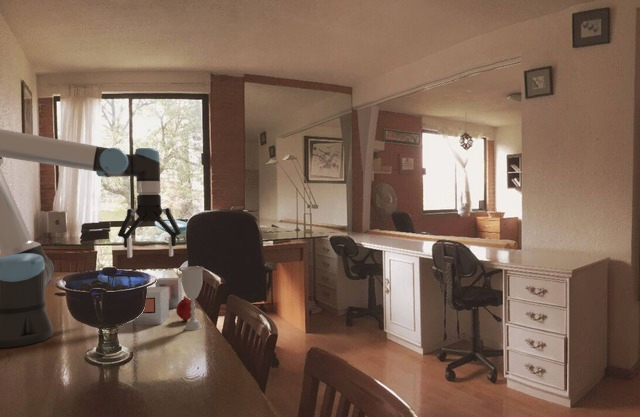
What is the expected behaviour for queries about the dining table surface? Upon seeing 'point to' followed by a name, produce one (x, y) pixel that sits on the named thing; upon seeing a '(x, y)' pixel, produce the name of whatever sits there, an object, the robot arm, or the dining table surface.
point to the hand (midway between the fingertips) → (150, 256)
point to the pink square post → (152, 303)
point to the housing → (160, 307)
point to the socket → (172, 289)
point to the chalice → (192, 291)
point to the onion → (184, 309)
